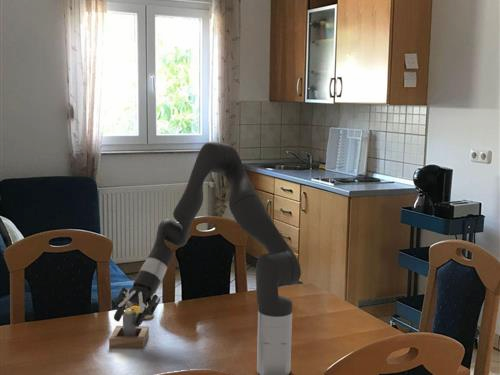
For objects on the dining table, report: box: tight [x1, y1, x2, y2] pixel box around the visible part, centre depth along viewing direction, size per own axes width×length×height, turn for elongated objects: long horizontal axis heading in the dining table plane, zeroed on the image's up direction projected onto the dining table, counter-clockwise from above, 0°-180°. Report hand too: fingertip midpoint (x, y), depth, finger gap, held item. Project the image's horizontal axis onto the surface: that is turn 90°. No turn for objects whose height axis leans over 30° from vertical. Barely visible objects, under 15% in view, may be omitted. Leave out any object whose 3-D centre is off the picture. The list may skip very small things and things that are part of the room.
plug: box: [122, 307, 136, 337], centre depth 179 cm, size 4×4×10 cm
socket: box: [108, 325, 150, 350], centre depth 180 cm, size 10×10×3 cm
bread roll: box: [128, 305, 155, 320], centre depth 201 cm, size 8×9×4 cm
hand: (125, 322), depth 178 cm, fingers open, 7 cm apart
